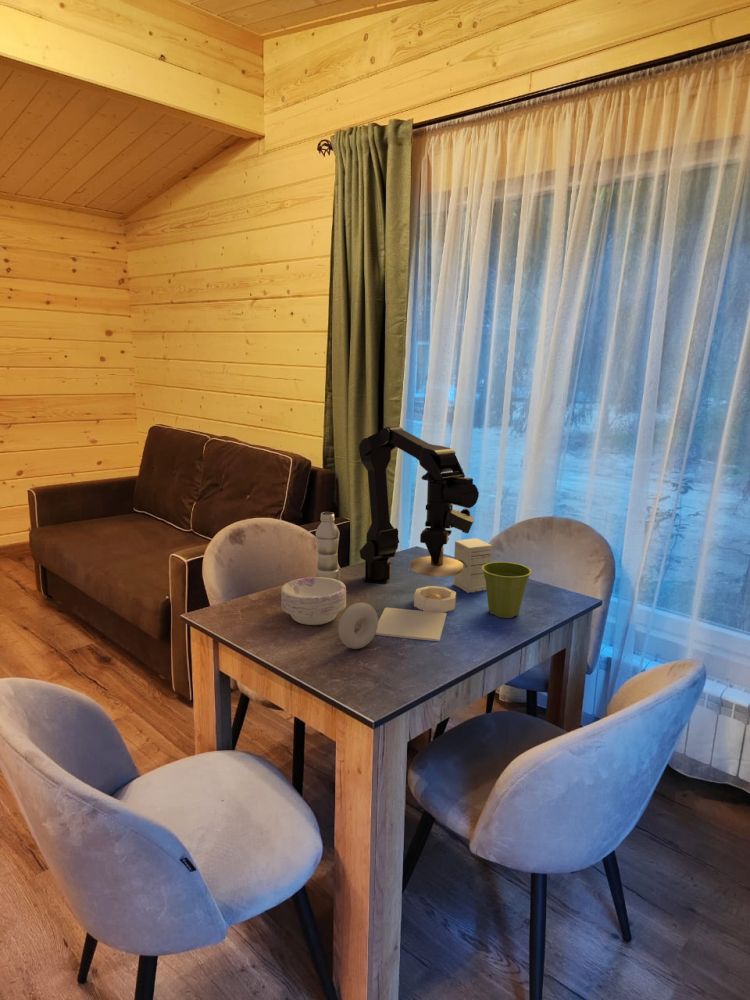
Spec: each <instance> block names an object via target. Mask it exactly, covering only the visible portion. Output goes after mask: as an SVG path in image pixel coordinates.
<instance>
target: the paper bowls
mask: <svg viewBox="0 0 750 1000" xmlns="http://www.w3.org/2000/svg"><path fill="white" fill-rule="evenodd" d="M280 592H281V593H280V597H281V598H280V600H281V603H280V605H281V609H282V611H283V612H285V613H286V614H288V615H290V616H291V618H292V619H293V621H295V622H296V623H300V624H302V625H306V626H309V625H310V626H318V625H324V624H327V623H330V622H332V621H333V620H335V618H336V617H337V615H338V613H341V612H342V611H344V610H345V608H346V607H347V585H345V583H344V582H342V581H341V580H340V579H339V580H336V579H332V578H324V577H316V576H314V577H313V576H310V577H301V578H297V579H293V580H290V581H288V582H286V583H284V584H283V585H282V586H281V589H280Z"/></svg>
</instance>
